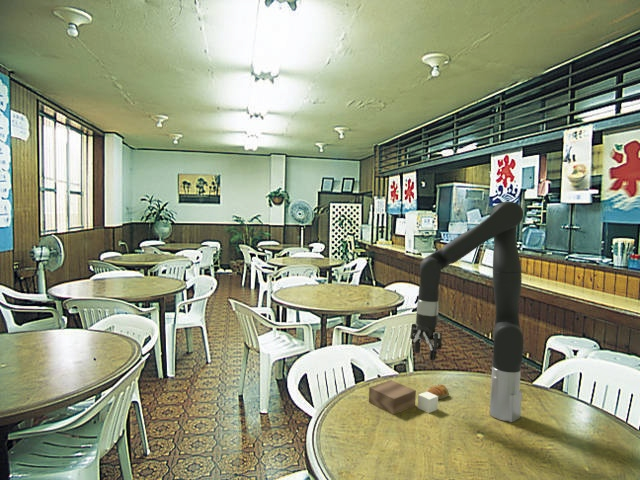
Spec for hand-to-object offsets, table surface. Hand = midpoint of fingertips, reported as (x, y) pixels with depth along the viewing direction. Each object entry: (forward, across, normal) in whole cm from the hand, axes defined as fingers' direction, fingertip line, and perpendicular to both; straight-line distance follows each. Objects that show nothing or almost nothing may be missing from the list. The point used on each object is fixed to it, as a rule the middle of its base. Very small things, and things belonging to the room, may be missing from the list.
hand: (424, 356), depth 157 cm
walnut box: (+19, +6, +9) cm, 22 cm away
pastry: (+19, +5, -12) cm, 23 cm away
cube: (+19, -2, -1) cm, 19 cm away
